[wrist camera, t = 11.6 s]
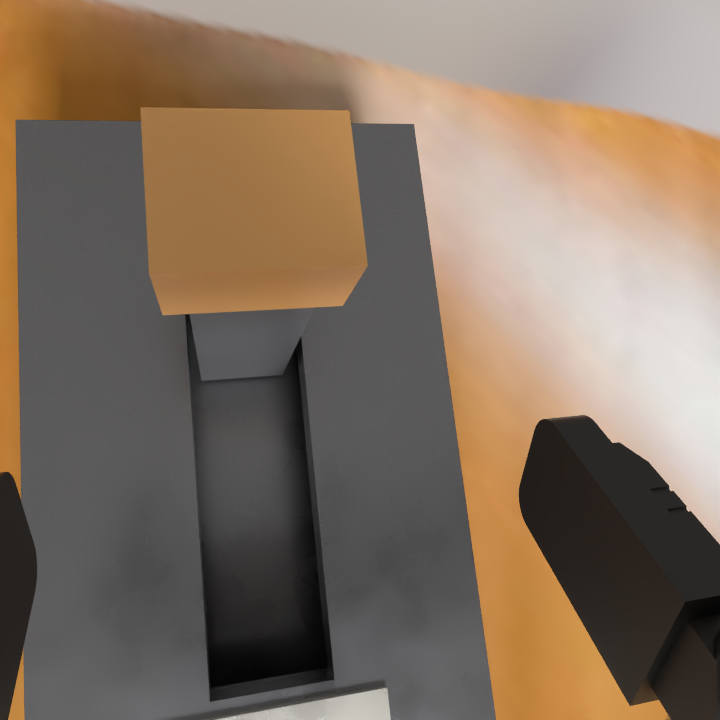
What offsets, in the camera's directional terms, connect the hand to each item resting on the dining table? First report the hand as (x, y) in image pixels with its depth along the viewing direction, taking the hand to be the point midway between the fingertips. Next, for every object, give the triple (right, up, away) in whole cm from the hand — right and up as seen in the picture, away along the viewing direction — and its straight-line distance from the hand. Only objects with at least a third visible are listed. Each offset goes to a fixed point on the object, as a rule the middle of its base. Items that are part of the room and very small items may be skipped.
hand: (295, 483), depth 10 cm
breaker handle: (-4, +3, +16) cm, 17 cm away
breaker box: (-4, -2, +17) cm, 17 cm away
